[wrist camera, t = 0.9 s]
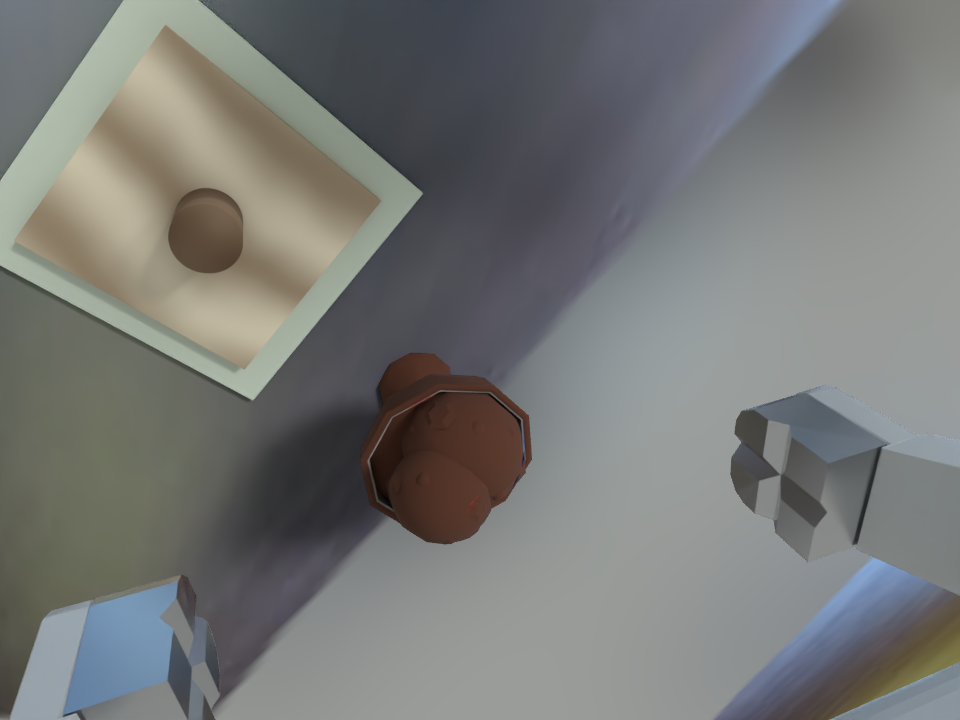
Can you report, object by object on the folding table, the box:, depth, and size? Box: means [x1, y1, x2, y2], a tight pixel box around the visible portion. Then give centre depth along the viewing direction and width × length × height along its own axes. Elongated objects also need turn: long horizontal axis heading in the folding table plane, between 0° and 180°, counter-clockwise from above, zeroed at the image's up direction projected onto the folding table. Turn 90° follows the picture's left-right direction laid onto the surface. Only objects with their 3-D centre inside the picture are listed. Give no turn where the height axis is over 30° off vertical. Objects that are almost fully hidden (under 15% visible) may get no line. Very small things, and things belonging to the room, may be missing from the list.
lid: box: [14, 25, 381, 370], centre depth 36 cm, size 14×14×5 cm
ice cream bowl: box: [360, 353, 532, 544], centre depth 42 cm, size 11×11×15 cm
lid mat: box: [0, 0, 423, 400], centre depth 38 cm, size 18×18×1 cm
